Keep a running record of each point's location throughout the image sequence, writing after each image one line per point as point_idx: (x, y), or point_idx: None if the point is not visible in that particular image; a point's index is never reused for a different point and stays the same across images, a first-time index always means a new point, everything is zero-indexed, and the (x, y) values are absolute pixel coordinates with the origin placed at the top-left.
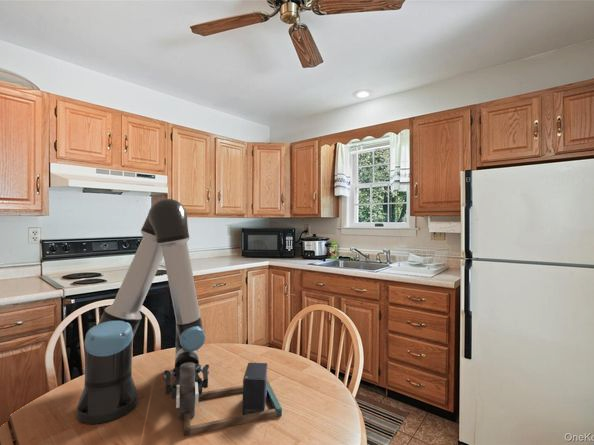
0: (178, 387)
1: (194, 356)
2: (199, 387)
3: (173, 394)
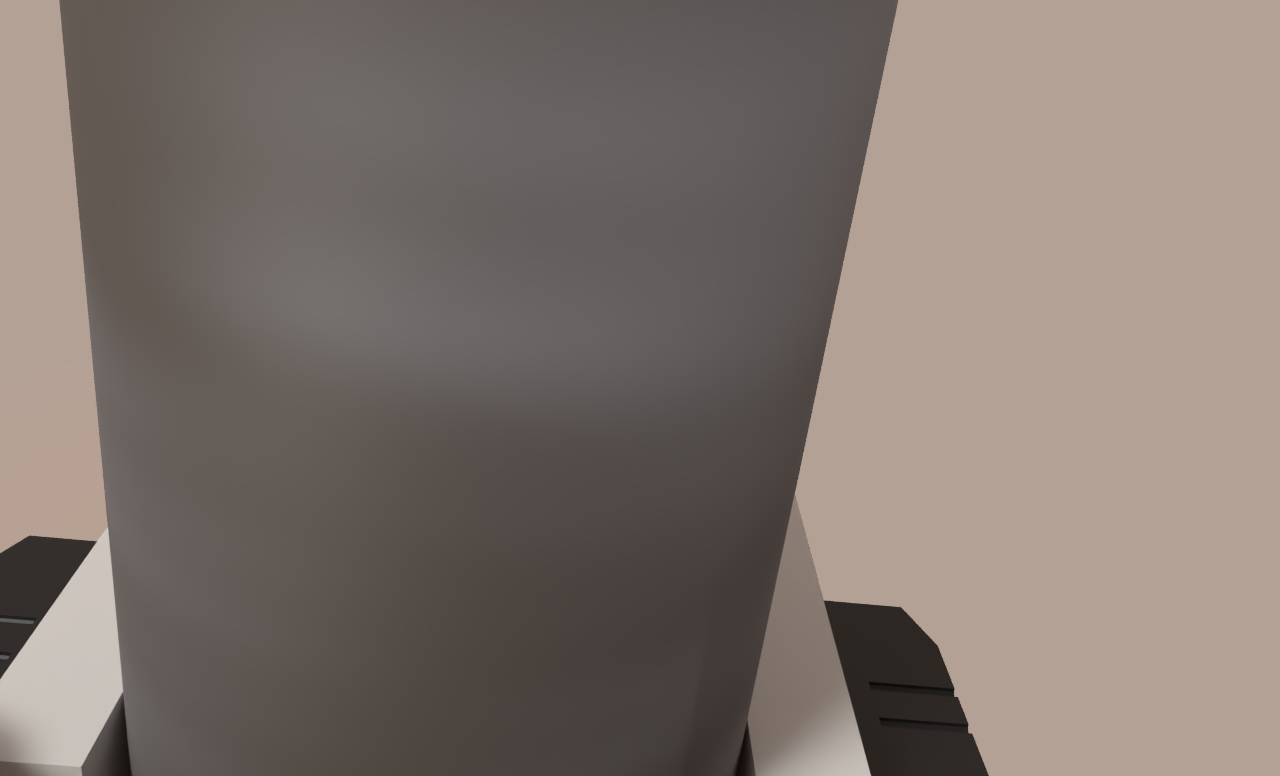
0: (783, 671)
1: None
2: (34, 623)
3: (875, 615)
